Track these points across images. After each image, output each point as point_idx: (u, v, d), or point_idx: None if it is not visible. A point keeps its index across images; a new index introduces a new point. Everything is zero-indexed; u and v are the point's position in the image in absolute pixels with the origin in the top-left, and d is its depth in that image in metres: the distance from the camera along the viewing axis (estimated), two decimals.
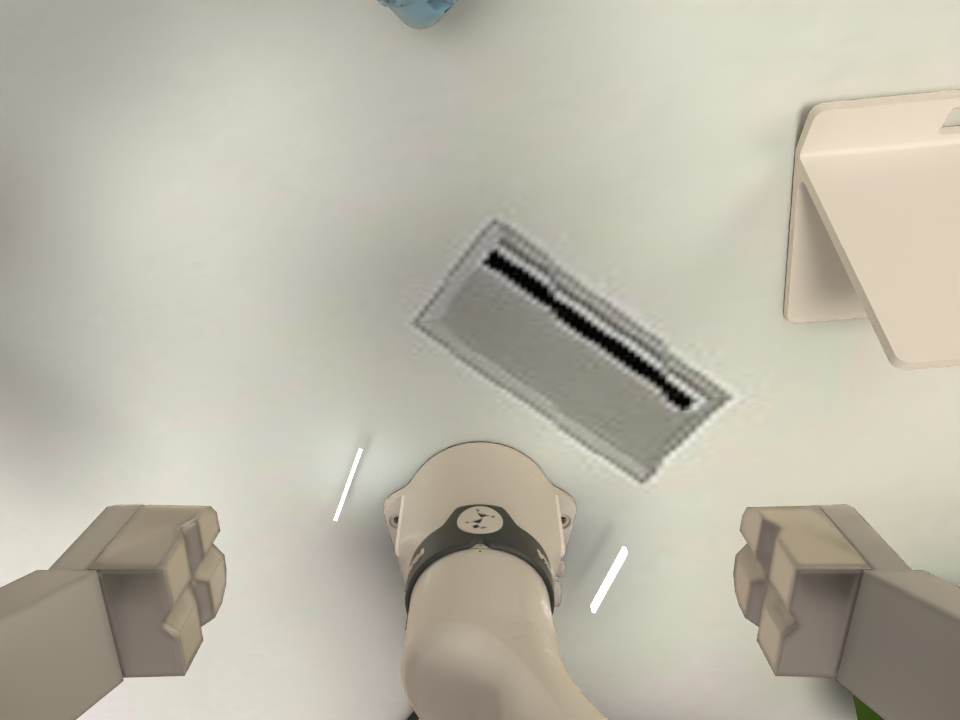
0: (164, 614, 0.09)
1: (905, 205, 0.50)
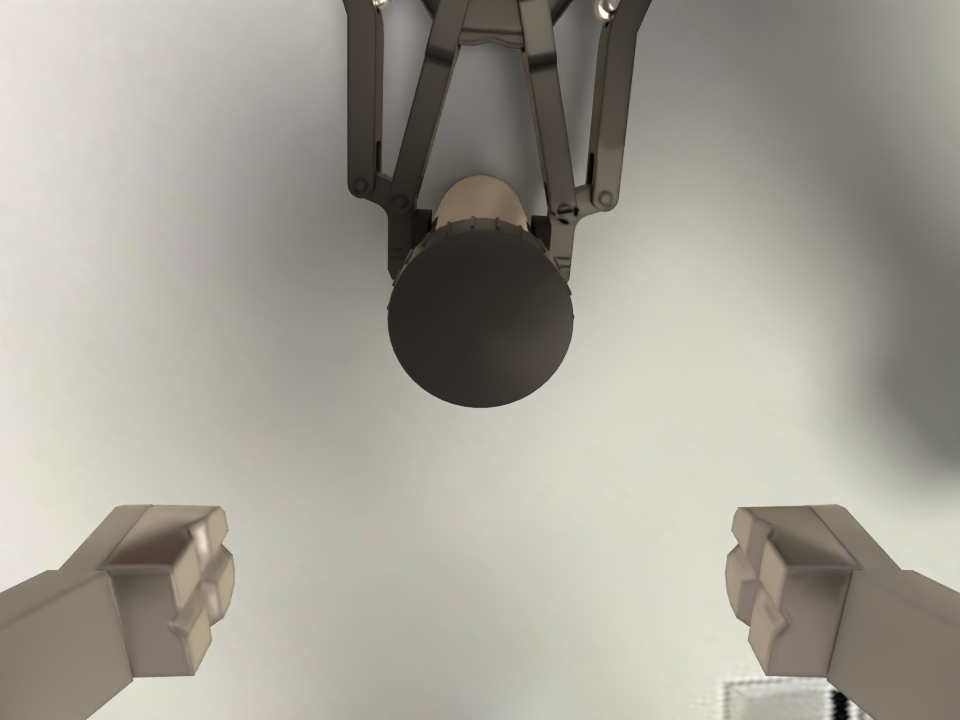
0: (173, 614, 0.09)
1: None
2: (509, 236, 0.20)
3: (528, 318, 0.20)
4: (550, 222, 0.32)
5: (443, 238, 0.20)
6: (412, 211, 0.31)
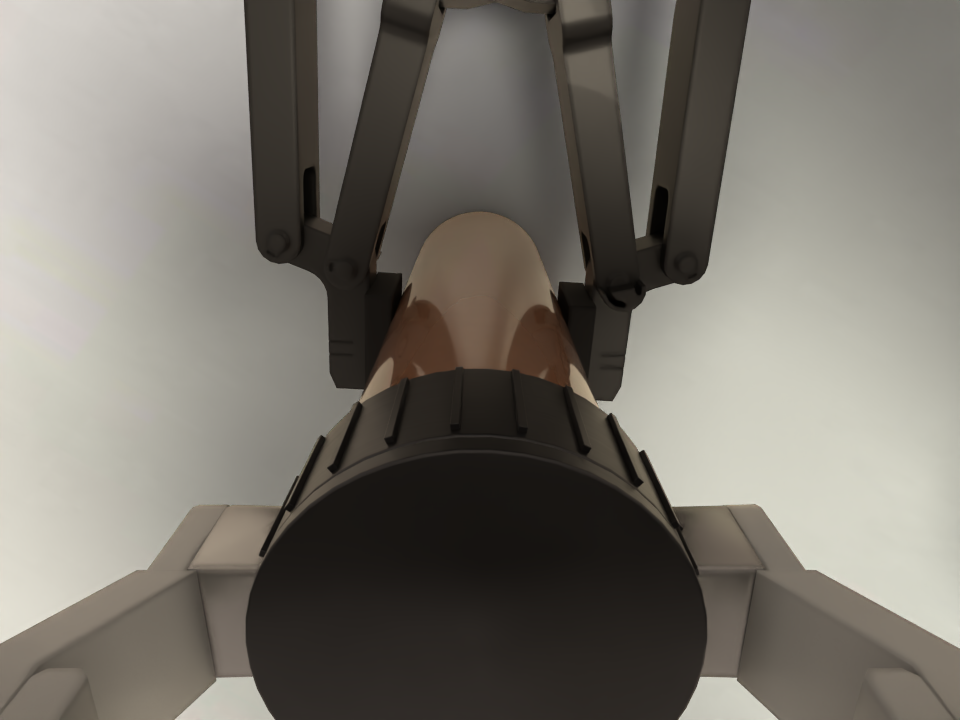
0: None
1: None
2: (553, 463, 0.07)
3: (596, 641, 0.08)
4: (592, 299, 0.19)
5: (377, 466, 0.07)
6: (366, 282, 0.19)
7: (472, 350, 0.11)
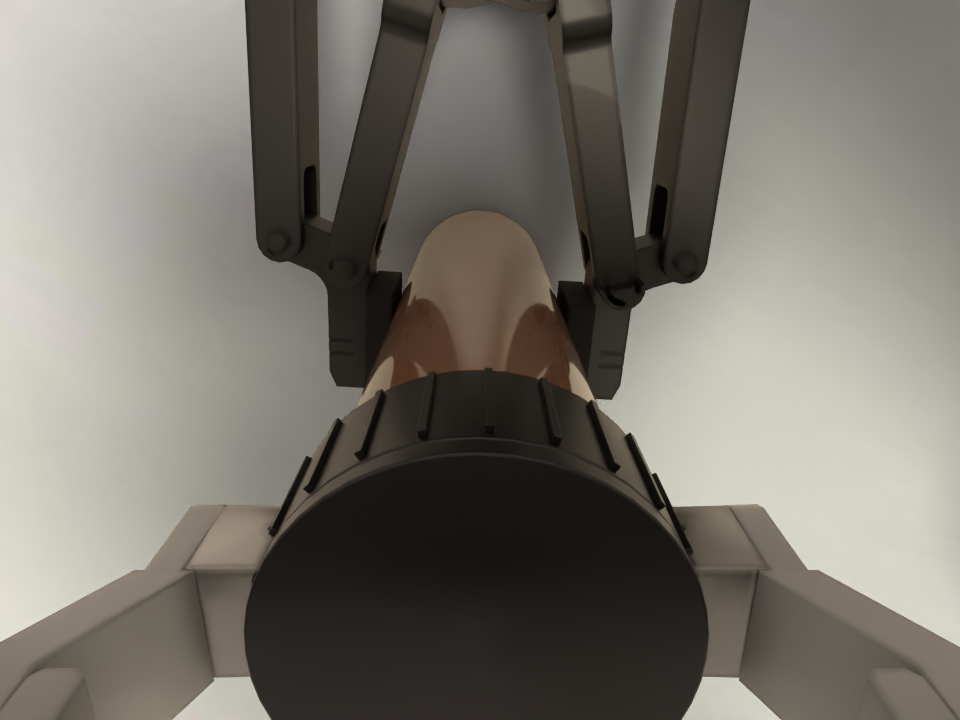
0: None
1: None
2: (279, 541, 0.08)
3: (503, 560, 0.08)
4: (592, 298, 0.19)
5: (248, 663, 0.08)
6: (367, 281, 0.19)
7: (472, 348, 0.11)
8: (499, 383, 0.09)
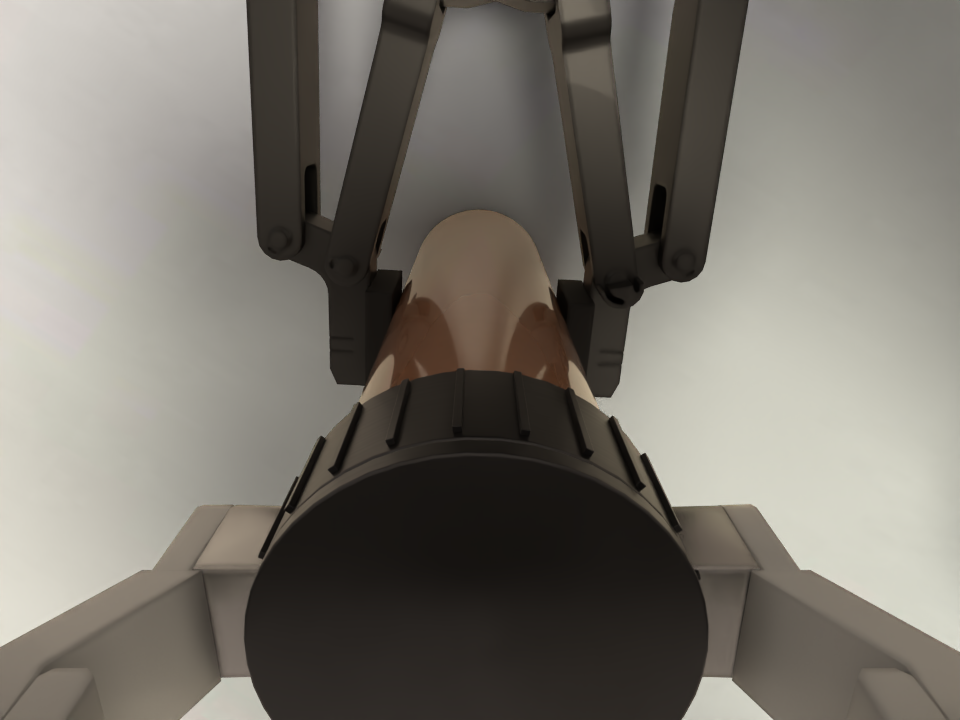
0: None
1: None
2: None
3: (370, 607, 0.08)
4: (591, 297, 0.20)
5: None
6: (367, 279, 0.19)
7: (473, 345, 0.11)
8: (295, 487, 0.10)
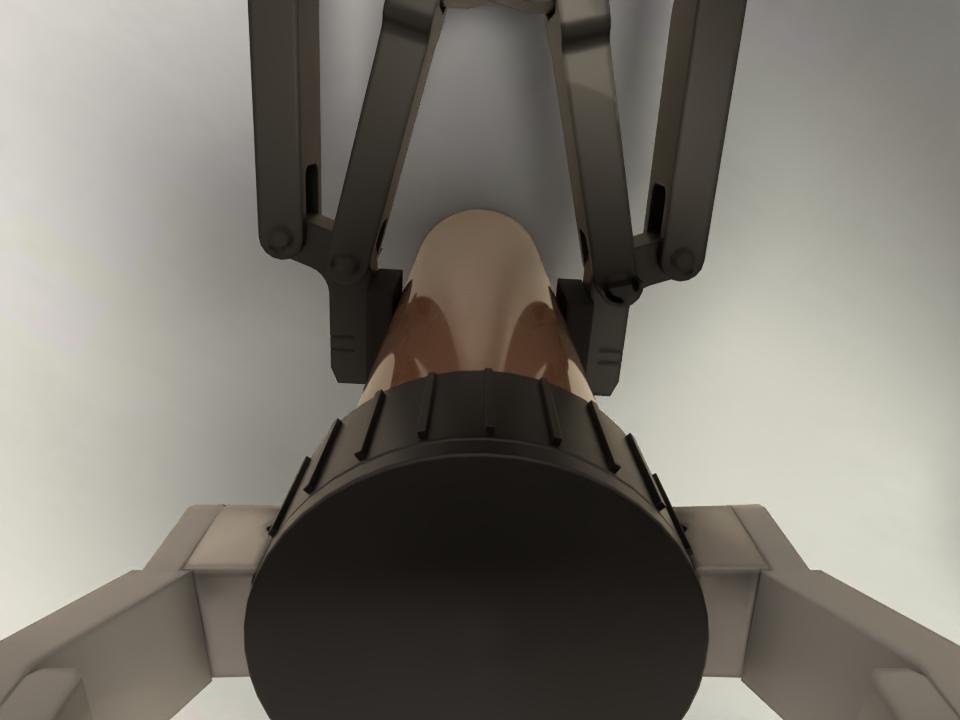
0: None
1: None
2: None
3: (385, 713, 0.09)
4: (591, 296, 0.20)
5: None
6: (368, 278, 0.19)
7: (473, 344, 0.12)
8: None
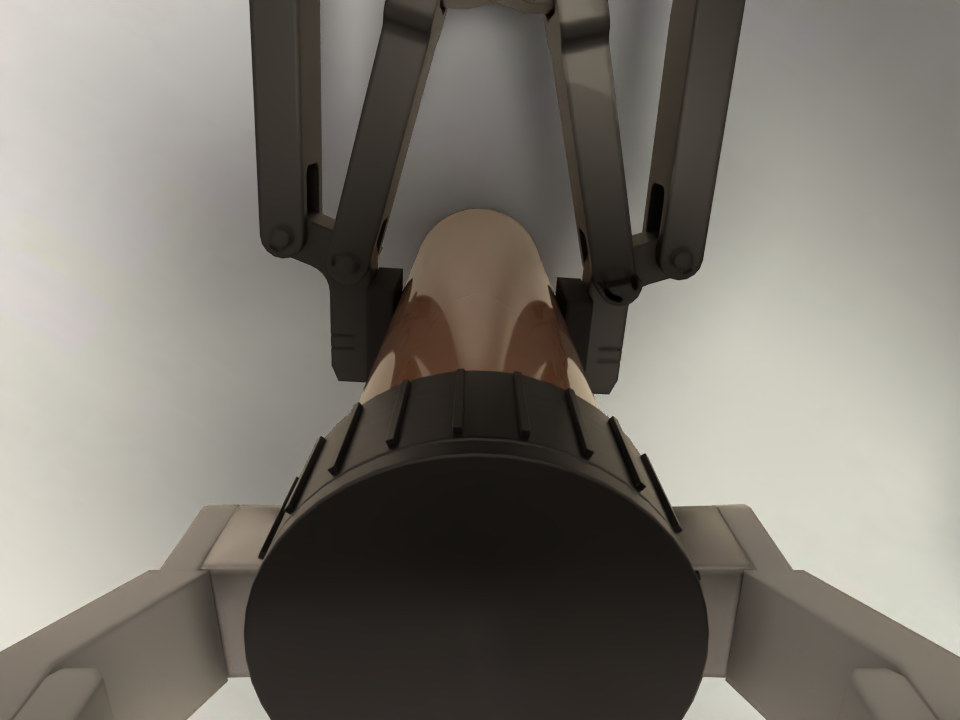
0: None
1: None
2: (701, 676, 0.08)
3: None
4: (590, 294, 0.20)
5: (680, 549, 0.08)
6: (368, 277, 0.20)
7: (474, 342, 0.12)
8: None
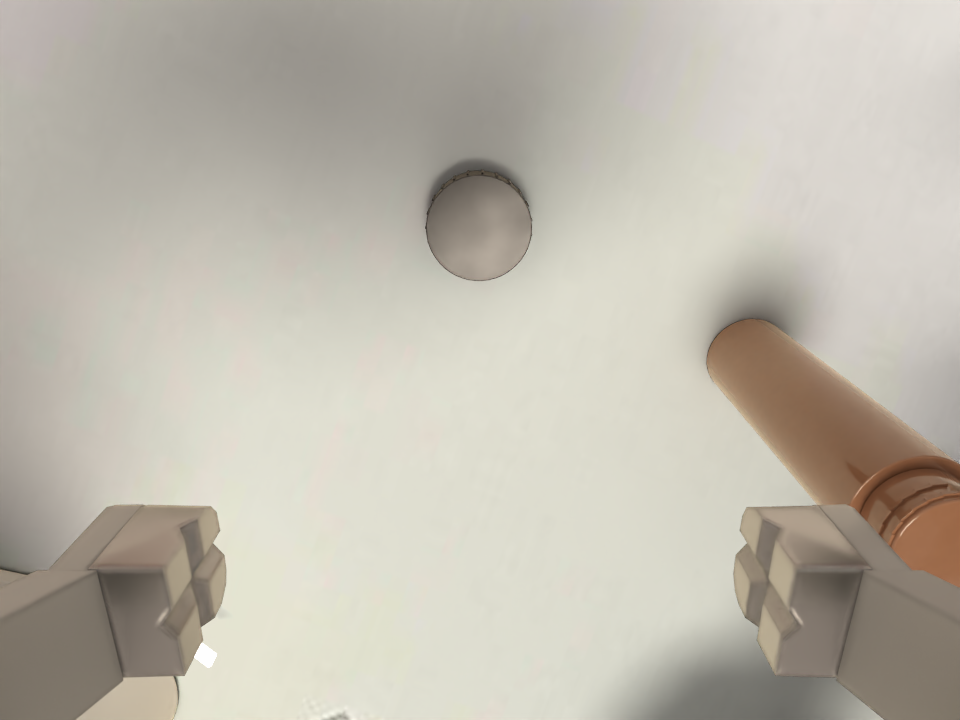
0: (163, 613, 0.09)
1: None
2: (502, 181, 0.35)
3: (506, 229, 0.36)
4: None
5: (465, 176, 0.35)
6: None
7: None
8: None
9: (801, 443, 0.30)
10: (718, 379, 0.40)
